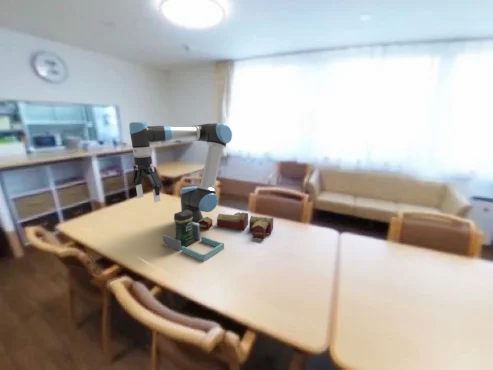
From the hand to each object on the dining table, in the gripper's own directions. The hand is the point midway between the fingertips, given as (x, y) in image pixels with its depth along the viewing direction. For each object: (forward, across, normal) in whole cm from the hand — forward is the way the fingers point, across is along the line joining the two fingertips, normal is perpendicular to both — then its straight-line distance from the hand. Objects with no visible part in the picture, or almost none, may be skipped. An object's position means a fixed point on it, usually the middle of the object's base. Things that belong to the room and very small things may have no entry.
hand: (148, 199), depth 116 cm
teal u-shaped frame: (+28, +22, +13) cm, 37 cm away
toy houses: (+29, +19, +43) cm, 56 cm away
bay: (+28, +6, +13) cm, 31 cm away
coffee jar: (+28, +8, +13) cm, 32 cm away
